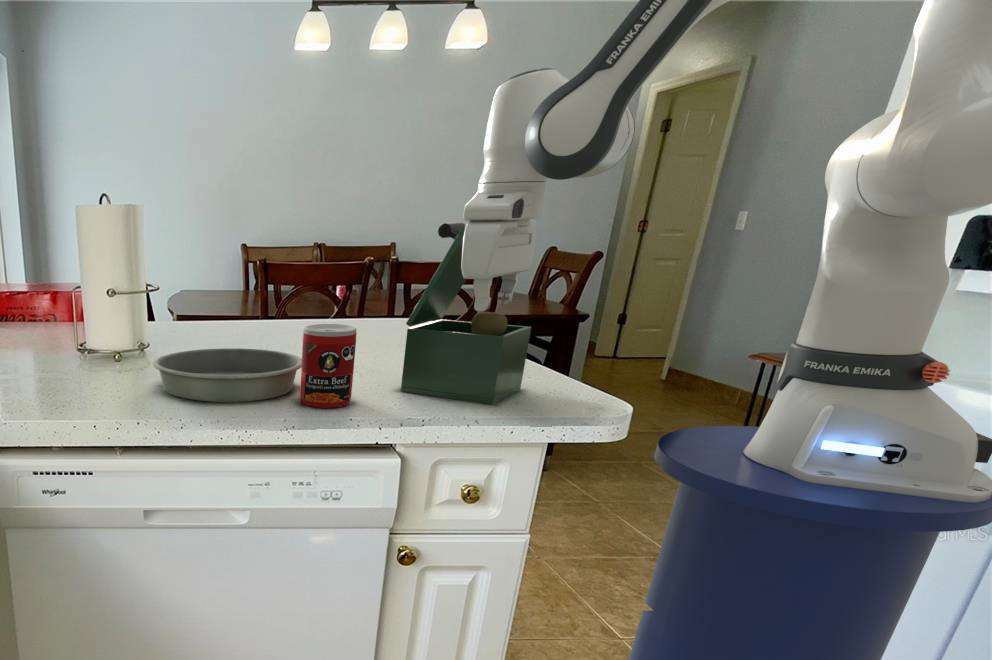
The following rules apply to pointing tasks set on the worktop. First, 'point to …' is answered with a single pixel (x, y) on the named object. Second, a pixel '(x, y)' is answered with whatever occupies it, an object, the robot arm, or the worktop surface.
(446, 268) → the bin lid
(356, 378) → the worktop surface
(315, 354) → the canned food
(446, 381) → the waste bin
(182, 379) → the cake pan
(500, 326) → the tan pawn
